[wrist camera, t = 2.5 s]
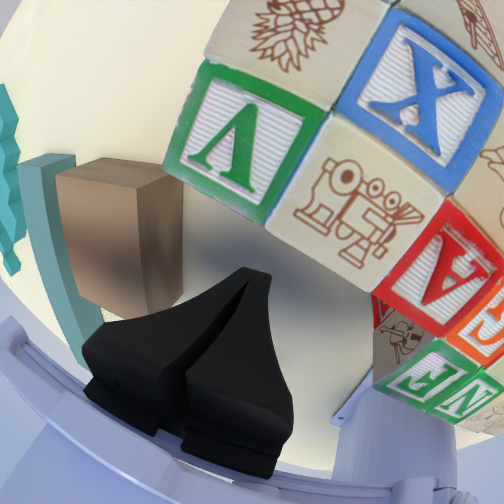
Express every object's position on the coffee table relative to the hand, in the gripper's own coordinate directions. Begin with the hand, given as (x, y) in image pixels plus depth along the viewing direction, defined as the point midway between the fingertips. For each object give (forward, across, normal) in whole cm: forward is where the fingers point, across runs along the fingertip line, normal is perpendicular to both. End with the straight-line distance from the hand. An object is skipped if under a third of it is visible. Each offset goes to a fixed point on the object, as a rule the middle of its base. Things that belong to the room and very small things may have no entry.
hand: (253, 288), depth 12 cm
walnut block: (+3, +8, 0) cm, 8 cm away
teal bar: (+2, +16, +7) cm, 18 cm away
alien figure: (+3, +33, -2) cm, 33 cm away
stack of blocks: (-1, -11, -11) cm, 16 cm away
